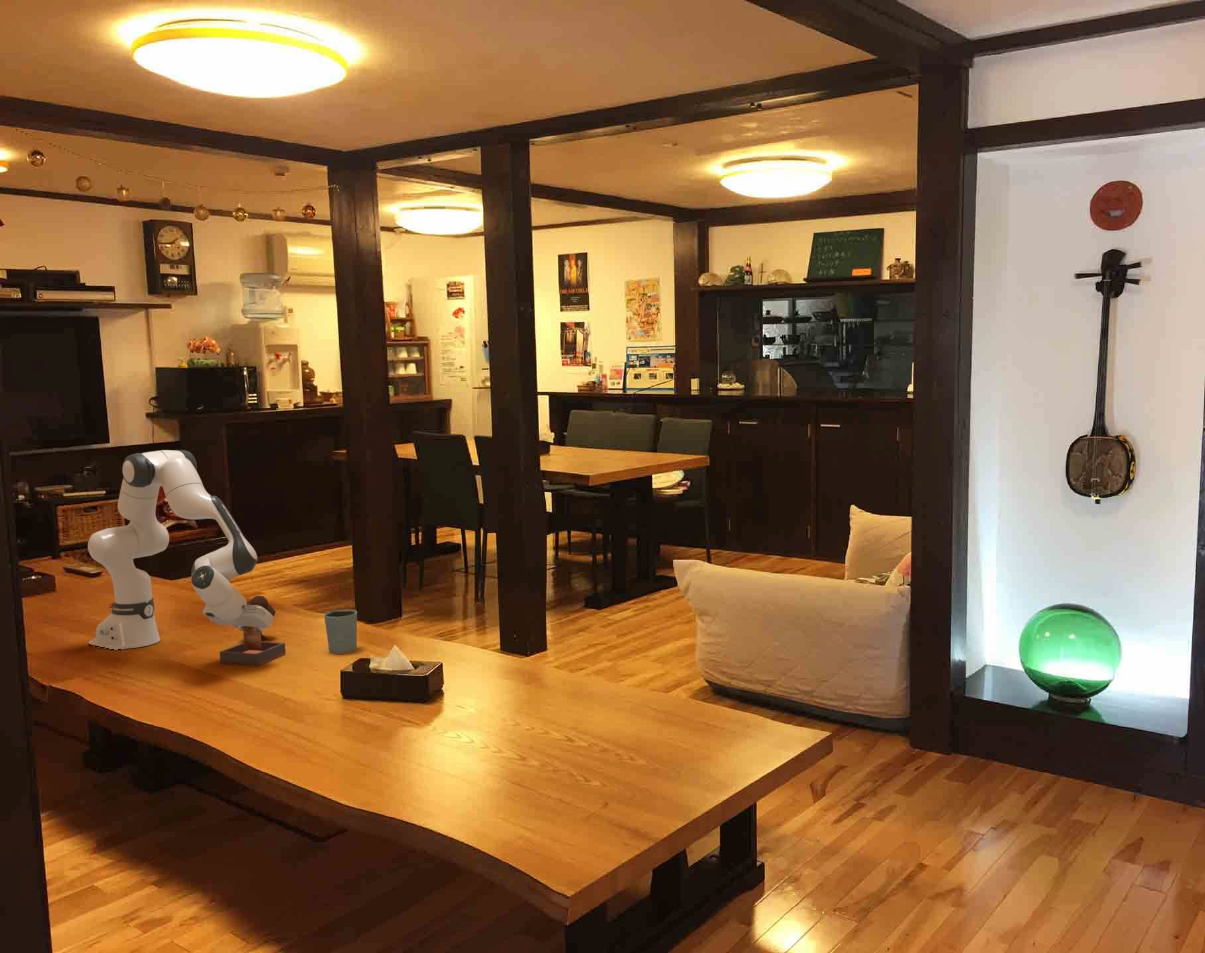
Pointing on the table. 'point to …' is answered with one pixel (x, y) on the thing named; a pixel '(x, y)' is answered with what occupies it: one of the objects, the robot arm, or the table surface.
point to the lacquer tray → (252, 654)
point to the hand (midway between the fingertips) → (253, 629)
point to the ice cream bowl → (263, 603)
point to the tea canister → (251, 638)
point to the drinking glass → (341, 631)
